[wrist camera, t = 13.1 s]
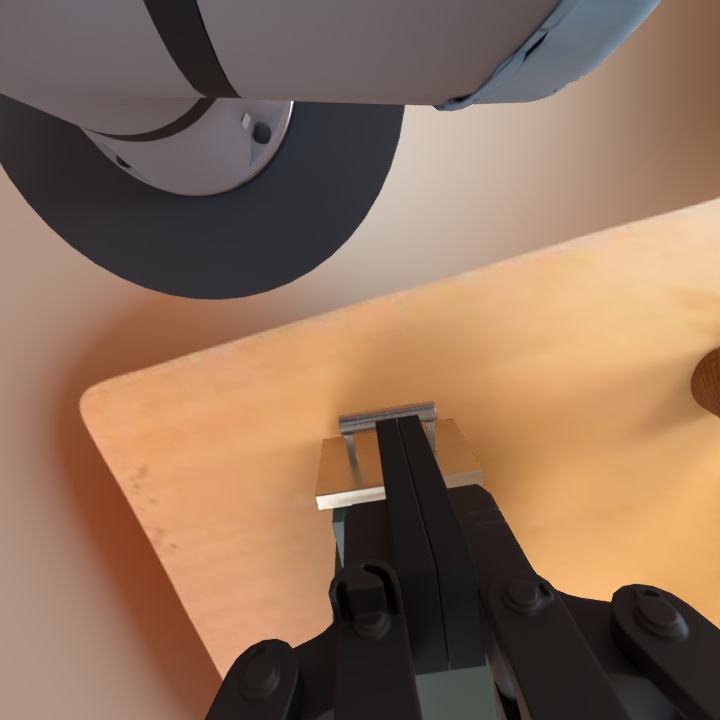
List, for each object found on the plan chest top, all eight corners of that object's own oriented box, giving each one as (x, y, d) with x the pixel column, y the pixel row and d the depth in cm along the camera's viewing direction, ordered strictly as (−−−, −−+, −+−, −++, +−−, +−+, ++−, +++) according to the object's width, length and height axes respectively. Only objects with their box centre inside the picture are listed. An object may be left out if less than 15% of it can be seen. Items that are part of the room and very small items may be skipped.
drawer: (314, 398, 32) (303, 445, 24) (448, 376, 31) (479, 417, 24) (347, 552, 37) (346, 632, 29) (464, 535, 36) (494, 610, 29)
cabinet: (336, 525, 37) (332, 619, 28) (465, 505, 36) (504, 594, 27) (359, 628, 41) (362, 740, 32) (475, 611, 40) (512, 719, 31)
